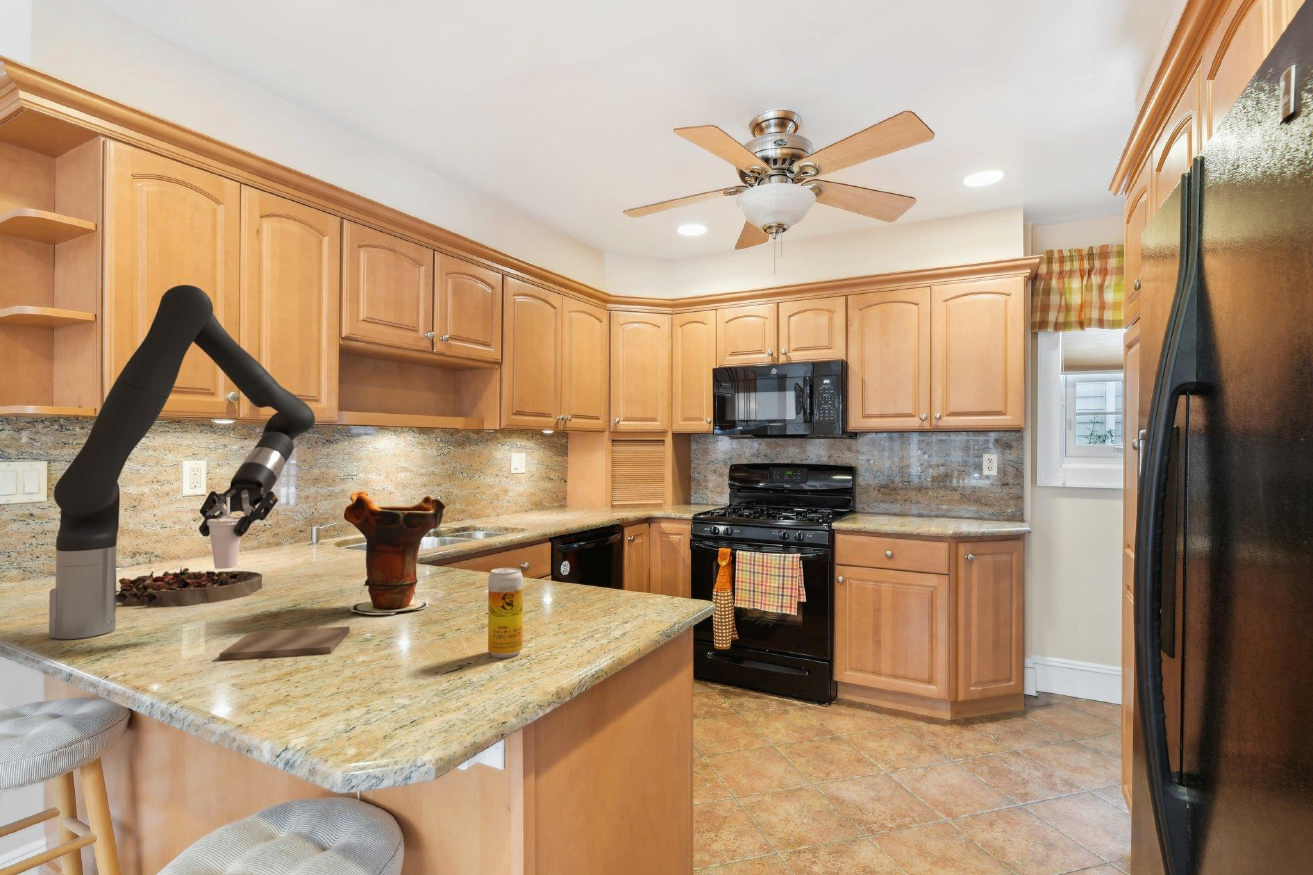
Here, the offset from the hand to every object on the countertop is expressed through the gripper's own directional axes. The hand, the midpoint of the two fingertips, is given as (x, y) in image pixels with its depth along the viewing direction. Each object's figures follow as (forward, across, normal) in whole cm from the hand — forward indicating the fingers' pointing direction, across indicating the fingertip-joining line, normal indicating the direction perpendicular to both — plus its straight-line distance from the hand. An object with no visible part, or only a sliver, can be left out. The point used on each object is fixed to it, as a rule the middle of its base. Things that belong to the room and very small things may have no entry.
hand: (220, 534), depth 130 cm
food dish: (-12, -36, +42) cm, 56 cm away
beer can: (+21, +60, +8) cm, 64 cm away
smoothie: (+4, 0, +6) cm, 7 cm away
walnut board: (+18, +18, +10) cm, 28 cm away
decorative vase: (-3, +24, +32) cm, 40 cm away
